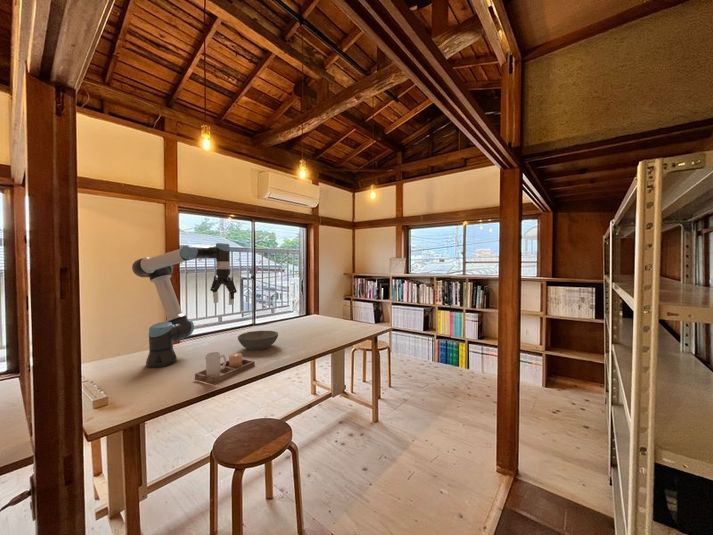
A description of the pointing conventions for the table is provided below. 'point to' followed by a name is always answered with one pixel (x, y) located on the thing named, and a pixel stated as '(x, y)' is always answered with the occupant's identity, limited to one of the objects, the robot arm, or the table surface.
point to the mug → (214, 364)
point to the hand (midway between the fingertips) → (223, 303)
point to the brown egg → (235, 360)
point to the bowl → (257, 339)
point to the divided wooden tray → (224, 372)
